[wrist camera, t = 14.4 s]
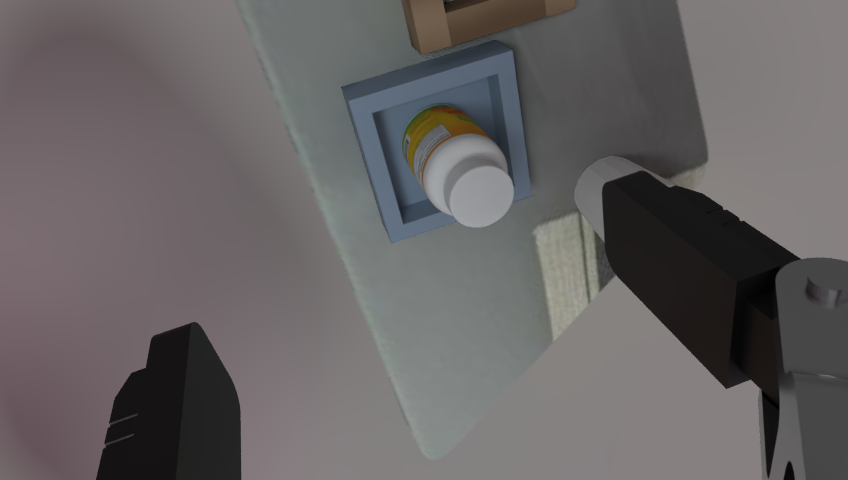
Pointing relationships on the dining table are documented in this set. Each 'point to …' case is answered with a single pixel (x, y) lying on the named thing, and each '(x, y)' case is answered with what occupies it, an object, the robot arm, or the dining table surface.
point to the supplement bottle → (457, 165)
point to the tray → (416, 89)
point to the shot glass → (592, 184)
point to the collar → (470, 19)
